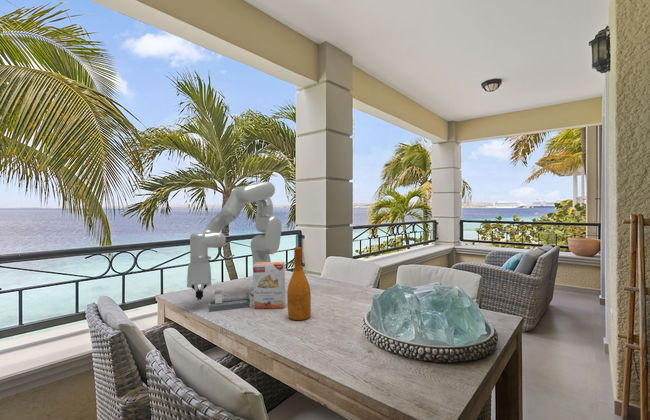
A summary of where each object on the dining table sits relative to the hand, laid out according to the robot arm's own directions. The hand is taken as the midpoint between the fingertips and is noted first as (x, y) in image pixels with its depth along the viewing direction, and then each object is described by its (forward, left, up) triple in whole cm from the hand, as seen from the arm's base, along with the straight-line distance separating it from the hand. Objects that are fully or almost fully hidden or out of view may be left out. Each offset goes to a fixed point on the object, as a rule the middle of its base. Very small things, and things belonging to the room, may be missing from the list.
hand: (199, 299), depth 145 cm
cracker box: (-31, +8, -5) cm, 33 cm away
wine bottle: (-42, +26, -5) cm, 49 cm away
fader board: (-13, 0, -5) cm, 14 cm away
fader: (-8, 0, -3) cm, 9 cm away
